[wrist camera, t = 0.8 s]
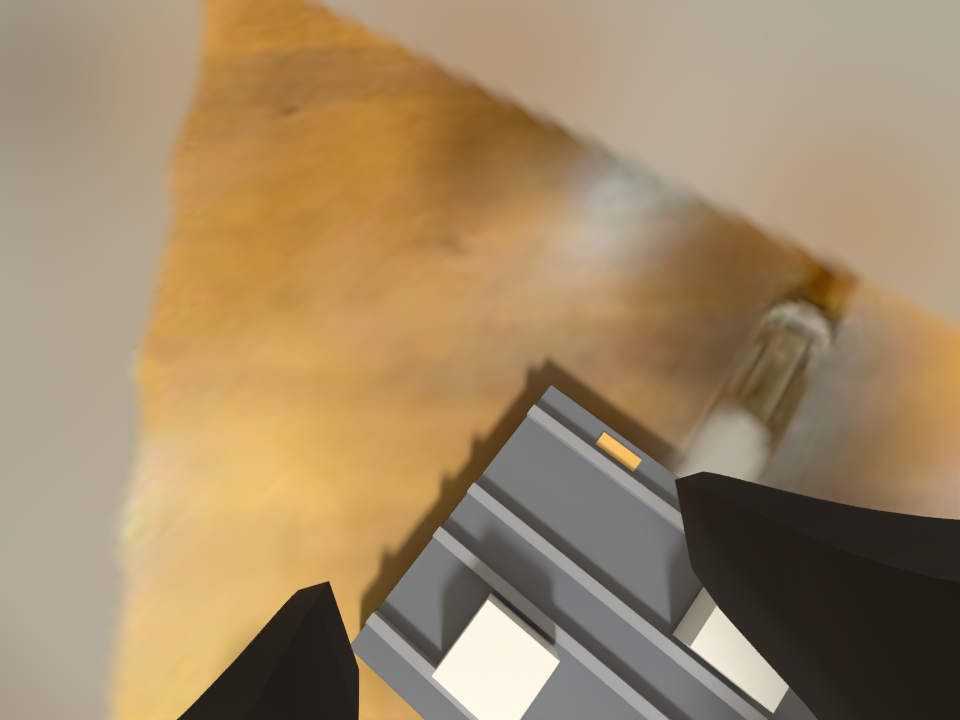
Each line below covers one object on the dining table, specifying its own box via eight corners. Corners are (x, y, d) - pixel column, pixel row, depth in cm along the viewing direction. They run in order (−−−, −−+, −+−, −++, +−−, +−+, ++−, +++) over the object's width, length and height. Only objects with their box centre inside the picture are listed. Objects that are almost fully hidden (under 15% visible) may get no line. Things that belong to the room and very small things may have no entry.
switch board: (867, 626, 29) (902, 636, 26) (682, 943, 26) (700, 991, 23) (549, 392, 33) (552, 381, 31) (359, 639, 30) (343, 650, 28)
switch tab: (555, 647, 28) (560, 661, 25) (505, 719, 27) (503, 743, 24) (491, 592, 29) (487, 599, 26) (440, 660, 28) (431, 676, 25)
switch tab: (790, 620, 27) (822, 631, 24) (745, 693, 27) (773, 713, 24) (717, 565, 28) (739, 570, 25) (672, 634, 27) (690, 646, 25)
